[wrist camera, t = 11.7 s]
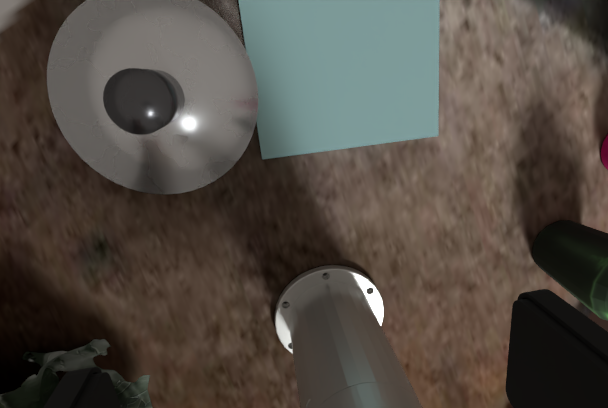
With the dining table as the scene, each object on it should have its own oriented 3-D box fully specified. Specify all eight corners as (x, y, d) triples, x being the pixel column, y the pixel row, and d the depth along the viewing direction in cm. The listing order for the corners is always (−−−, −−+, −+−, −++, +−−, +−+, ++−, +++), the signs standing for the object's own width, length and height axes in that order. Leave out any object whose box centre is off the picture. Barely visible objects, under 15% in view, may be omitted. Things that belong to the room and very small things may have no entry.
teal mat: (436, 135, 39) (438, 135, 39) (262, 158, 37) (262, 159, 37) (437, -71, 33) (439, -73, 33) (230, -53, 32) (230, -55, 31)
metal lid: (270, 177, 32) (274, 198, 27) (87, 204, 31) (52, 231, 25) (241, -24, 27) (237, -50, 22) (21, -2, 26) (-41, -23, 20)
